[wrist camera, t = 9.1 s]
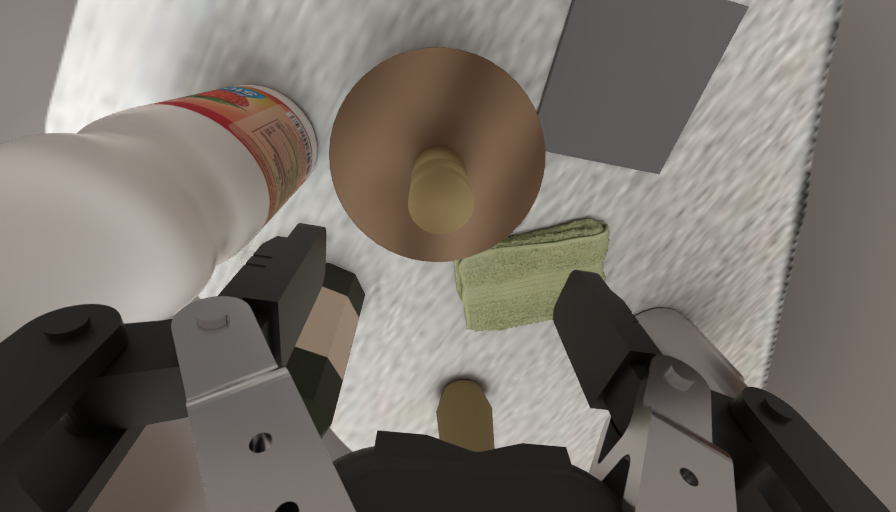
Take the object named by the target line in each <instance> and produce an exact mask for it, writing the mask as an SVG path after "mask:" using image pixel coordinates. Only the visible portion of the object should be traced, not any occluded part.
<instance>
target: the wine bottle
mask: <svg viewBox="0 0 896 512" xmlns="http://www.w3.org/2000/svg"><path fill="white" fill-rule="evenodd" d="M364 297H365V294H364V292H363V290H362V288H361V286H360V284H359V281H358V279H357V277H356V275H355V274H353V273H351V272H349V271H346V270H344V269H341V268H339V267H337V266H334V265H332V264H330V263H327V264H325V276H324V281H323V285H322V288H321V291H320V293H319V295H318V297H317V299H316V302H315V304H314V306H313V308H312V310H311V312H310V315H309V317H308V319H307V321H306V323H305V325H304V328H303V330H302V332H301V334H300V336H299V338H298V341H297V343H296V345H295V347H294V349H293V351H292V354H291V356H290V358H289V360H288V362H287V365H286V368H287V370H288V371H289V373H290V375H291V377H292V379H293V381H294V383H295V385H296V387H297V390H298V392H299V394H300V396H301V398H302V400H303V402H304V404H305V406H306V408H307V410H308V413H309V415H310V417H311V419H312V421H313V423H314V425H315V427H316V429H317V431H318V433H319V435H320V438H321V439H322V437H323V436H324V434H325V433H326V431H327V430H328V428H329V427H330V426H331V424H332V420H333V417H334V413H335V409H336V405H337V401H338V397H339V393H340V390H341V386H342V382H343V378H344V374H345V370H346V366H347V363H348V359H349V355H350V351H351V347H352V343H353V339H354V336H355V332H356V328H357V324H358V320H359V316H360V312H361V309H362V305H363V301H364Z"/></svg>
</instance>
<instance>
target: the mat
mask: <svg viewBox="0 0 896 512" xmlns="http://www.w3.org/2000/svg"><path fill="white" fill-rule="evenodd" d="M747 9H748V6H744V5H741V4H737V3H734V2H731V1H727V0H573V1H572V4H571V7H570V10H569V13H568V16H567V20H566V23H565V26H564V29H563V32H562V35H561V39H560V42H559V45H558V48H557V51H556V54H555V58H554V61H553V64H552V67H551V70H550V73H549V77H548V80H547V83H546V86H545V89H544V92H543V96H542V99H541V102H540V105H539V108H538V111H537V115H538V117H539V120H540V123H541V127H542V131H543V134H544V142H545V151H547V152H552V153H557V154H562V155H567V156H572V157H577V158H582V159H587V160H591V161H596V162H601V163H606V164H611V165H616V166H621V167H626V168H631V169H636V170H641V171H646V172H651V173H656V174H660V172H661V170H662V168H663V166H664V164H665V162H666V160H667V159H668V157H669V155H670V153H671V151H672V149H673V147H674V145H675V144H676V142H677V140H678V138H679V136H680V134H681V132H682V131H683V129H684V127H685V125H686V123H687V121H688V119H689V117H690V116H691V114H692V112H693V110H694V108H695V106H696V104H697V103H698V101H699V99H700V97H701V95H702V93H703V91H704V89H705V88H706V86H707V84H708V82H709V80H710V78H711V76H712V74H713V73H714V71H715V69H716V67H717V65H718V63H719V61H720V60H721V58H722V56H723V54H724V52H725V50H726V48H727V46H728V45H729V43H730V41H731V39H732V37H733V35H734V33H735V31H736V30H737V28H738V26H739V24H740V22H741V20H742V18H743V17H744V15H745V13H746V11H747Z"/></svg>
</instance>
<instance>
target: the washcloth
mask: <svg viewBox="0 0 896 512" xmlns="http://www.w3.org/2000/svg"><path fill="white" fill-rule="evenodd" d="M609 233H610V231H609V228H608V225H607V224H606V223H605V222H601V221H594V220H593V219H585V220H581V221H573V222H570V223H569V224H564V225H559V226H554V227H552V228H550V229H541V230H537V231H532V232H530V233H525V234H523V235H519V236H515V235H514V236H512V237H509V236H507V237H506V238H505V239H504V240H502V241H501V242H499V243H498V244H496V245H495V246H493V247H492V248H490V249H488V250H486V251H484V252H482V253H479V254H477V255H474V256H471V257H468V258H464V259H460V260H454V265H455V276H456V285H457V292H458V295H459V297H460V299H461V301H462V303H463V305H464V308H465V315H466V327H467V328H466V329H471V330H475V331H476V332H477V331H483V330H488V331H490V330H498V331H499V330H505V329H507V328H512V327H514V326H515V327H517V326H519V325H520V326H521V325H527V324H531V323H533V322H534V323H538V322H540V321H542V322H543V321H547V320H550V319H552V320H553V310H554V306H555V304H556V302H557V299H558V297H559V295H560V293H561V291H562V289H563V287H564V285H565V283H566V281H567V279H568V277H569V275H570V273H571V272H572V271H573V270H582V271H588V272H594V273H598V274H599V275H600V276H601V277H602V279H603V280H604V282H605V278H606V277H605V275H604V272H603V259H604V258H605V256H606V253H607V251H608V250H607V248H608V244H609Z"/></svg>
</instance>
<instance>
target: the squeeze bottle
mask: <svg viewBox="0 0 896 512" xmlns="http://www.w3.org/2000/svg"><path fill="white" fill-rule="evenodd" d="M436 413H437V422H438V430H439V438H440V440H442V441H445V442H448V443H451V444H454V445H457V446H459V447H462V448H465V449H468V450H471V451H474V452H482V451H487V450H492V449H494V433H493V417H492V407H491V405H490V404H489V402H488V400H487V398H486V396H485V395H484V393H483V391H482V389H481V388H480V386H479V385H478V384H477V383H475V382H473V381H469V380H458V381H455V382H452V383H450V384H449V385H447V386H446V387H445V389H444V391H443V394H442V397H441V400H440V403H439V405H438V408H437V411H436Z"/></svg>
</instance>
